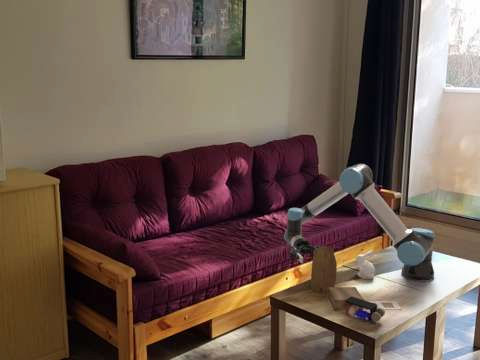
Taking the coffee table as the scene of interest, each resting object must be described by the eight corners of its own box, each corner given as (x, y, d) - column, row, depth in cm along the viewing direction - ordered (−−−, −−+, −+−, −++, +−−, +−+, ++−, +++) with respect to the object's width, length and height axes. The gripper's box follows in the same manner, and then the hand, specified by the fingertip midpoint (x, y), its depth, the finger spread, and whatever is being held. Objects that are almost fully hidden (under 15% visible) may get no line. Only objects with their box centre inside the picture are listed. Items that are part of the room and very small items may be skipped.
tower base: (354, 297, 255) (355, 287, 254) (362, 310, 242) (363, 299, 241) (327, 298, 254) (328, 287, 253) (334, 311, 241) (335, 299, 240)
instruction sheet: (394, 301, 252) (394, 300, 252) (401, 309, 244) (401, 308, 244) (360, 302, 250) (360, 301, 250) (366, 310, 243) (366, 309, 243)
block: (320, 295, 256) (323, 252, 252) (308, 290, 262) (310, 247, 257) (337, 290, 262) (340, 247, 258) (325, 284, 268) (328, 243, 264)
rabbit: (352, 272, 284) (354, 249, 281) (369, 271, 287) (371, 247, 284) (365, 282, 273) (367, 257, 270) (382, 280, 276) (384, 255, 273)
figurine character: (383, 324, 234) (348, 310, 242) (386, 307, 232) (351, 293, 239) (377, 330, 228) (341, 316, 236) (380, 313, 226) (344, 299, 234)
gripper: (323, 250, 293) (340, 265, 273) (276, 253, 287) (290, 269, 267) (324, 236, 291) (341, 250, 271) (276, 239, 285) (291, 253, 265)
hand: (316, 259), depth 269 cm, fingers open, 13 cm apart
